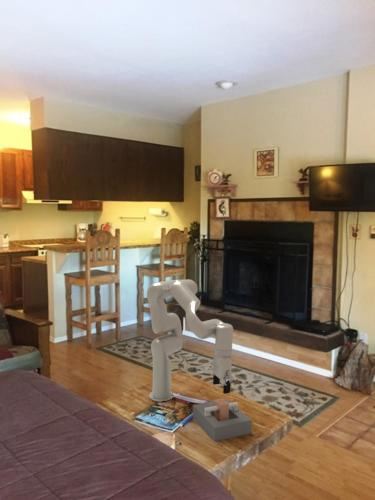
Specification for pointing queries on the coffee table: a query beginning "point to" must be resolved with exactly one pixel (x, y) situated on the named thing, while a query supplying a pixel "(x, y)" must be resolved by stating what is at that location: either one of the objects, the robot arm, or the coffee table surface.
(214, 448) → the coffee table surface
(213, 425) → the grey rectangular frame
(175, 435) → the coffee table surface
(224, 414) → the clip
